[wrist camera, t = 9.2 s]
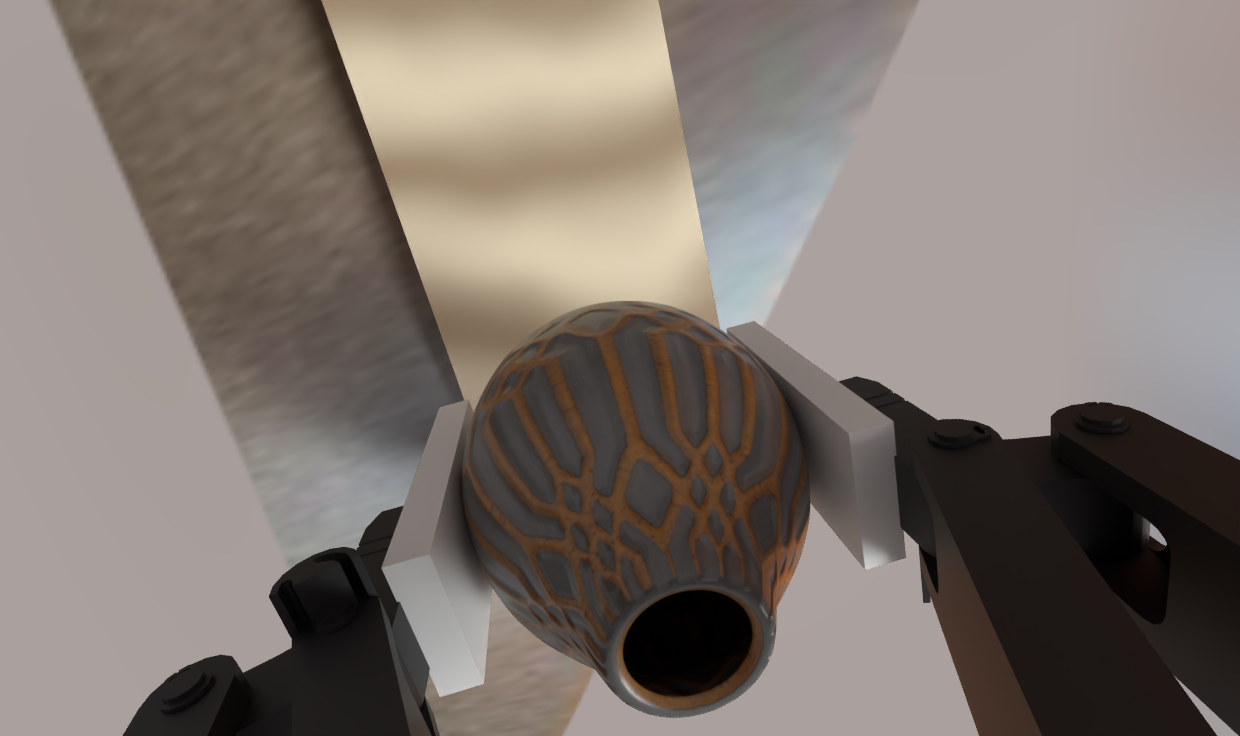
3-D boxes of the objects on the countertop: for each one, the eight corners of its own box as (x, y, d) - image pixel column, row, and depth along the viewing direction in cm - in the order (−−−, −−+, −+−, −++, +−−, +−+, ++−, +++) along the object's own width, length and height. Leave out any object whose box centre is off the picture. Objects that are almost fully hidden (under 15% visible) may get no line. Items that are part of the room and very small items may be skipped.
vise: (250, -228, 21) (43, -513, 12) (591, -302, 22) (635, -624, 13) (497, 473, 31) (484, 602, 22) (727, 408, 31) (806, 509, 22)
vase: (506, 247, 15) (474, 357, 6) (769, 308, 16) (1017, 463, 8) (456, 498, 17) (384, 829, 8) (695, 533, 18) (833, 847, 10)
